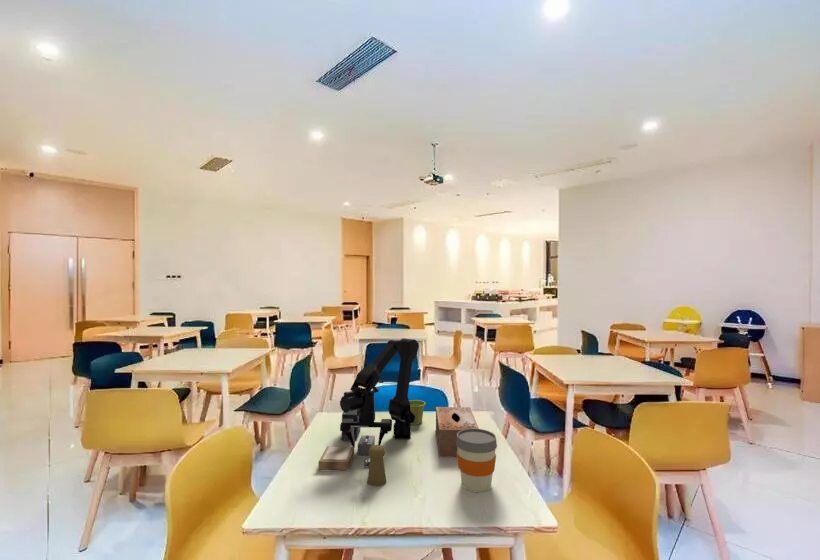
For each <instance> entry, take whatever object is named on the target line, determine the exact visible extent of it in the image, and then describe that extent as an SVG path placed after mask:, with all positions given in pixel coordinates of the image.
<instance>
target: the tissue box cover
mask: <svg viewBox="0 0 820 560" xmlns="http://www.w3.org/2000/svg"><path fill="white" fill-rule="evenodd" d="M473 428H474V429H480V428H479V426H478V424H477V421H476V419H475V416H474V413H473V411H472V409H471V407H469V406H468V407H467V406H466V407H465V406H463V407H462V406H459V407H458V406H457V407H456V406H436V407H435V432H436V441H437V442H436V443H437V450H438V457H439V458H440V457H442V458H443V457H444V458H446V457H447V458H457V451H458V449H457V445H456V438H457V433H458V432H459V431H461V430H464V429H473Z"/></svg>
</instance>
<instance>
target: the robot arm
mask: <svg viewBox="0 0 820 560" xmlns="http://www.w3.org/2000/svg"><path fill="white" fill-rule="evenodd" d="M386 343H387V344H386V345H385V346H384V347H383V349H382V350H381V351H380V352H379V353H378V355H377V356H376V357H375V359H374V360H373V361H372V362H371V363H370V364H369V365H367V366H365V367H362V369H361V370H360V371H359V372H358V373H357V374H356V376H355V379H354V381H353V384H352V385H351V388H350V391H345V392H343V396H342V397H340V401H339V406H340V409H341V411H342V413H343V412H345V413H347V412H350V411H353V410H357V416H359V422H353V419H343V420H342V419H341V422H340V424H339V431H340V432H342V431H344V433H346V434H347V436H348V438H349V439H350V440H349V443H350V444H351V447H354V449H355V447H356V441H355V439H354V427H360V428H373V429H374V428H379V429H380V430H379V436H378V442H377V445H381V444H382V441H383V438H384V437H385V435H388V434H389V432H392V429H393V436H394V439H397V440H398V439H399V440H400V439H406V440H410V439H411V437H412V433H411V425H413V424H412V422H414V420H415V416H414V415H413V413H412V412H411V411H410V402H409V401H410V400H409V389H410V382H411V373H412V365H413V361H414V359H416V357H417V356H418V353H419V347H420V345H419V343H418V341H417V340H416V339H414V338H413V339H412V338H406V337H405V338H403V337H402V338H401V339H399V340H396V339H390V340H388V341H387V342H386ZM396 354H398V356H399V368H398V376H397V381H396V391H395V395H394V397H393V398H390V399H389V400H388V401H389V402H388V408H387V410H388V413H389V415H390V418H381V420H380V421H376V410H375V393H378V392H379V391H380V390H379V389H378V388H377V387H376V386H377V384H378V383H379V382H380V379H381V373H382V372H383V370H384V369H385V368H386V367H387V365H388V364H389V363H390V361H391V360H392V359H393V358H394V356H395V355H396ZM393 421H394V423H393ZM381 446H382V445H381Z"/></svg>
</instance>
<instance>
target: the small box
mask: <svg viewBox="0 0 820 560" xmlns="http://www.w3.org/2000/svg"><path fill="white" fill-rule="evenodd" d="M343 419H353V422H359V416H357V410H353V411H350V412H347V413H345V412H343V411H342V414H341V421H342V420H343ZM360 433H361V427H354V439H355V442H356V441H357V440H358V438H359V435H360ZM340 440H341V441H350V439H349V438H348V436H347V434H346V433H344V431H341V439H340Z"/></svg>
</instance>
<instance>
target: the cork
mask: <svg viewBox="0 0 820 560" xmlns="http://www.w3.org/2000/svg"><path fill="white" fill-rule="evenodd" d="M385 455H386V450H385V447H384V446H383V445H378V444H375V445H373V446H371V447H370V449H369V456H368V457H369V462H370V464H369V466H368V471H367V481H366V483H367V485H368V486H370V487H374V488H378V487H382V486H384V485H386V483H387V476H386V474H387V473H386V467H385V461H384V457H385Z"/></svg>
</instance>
